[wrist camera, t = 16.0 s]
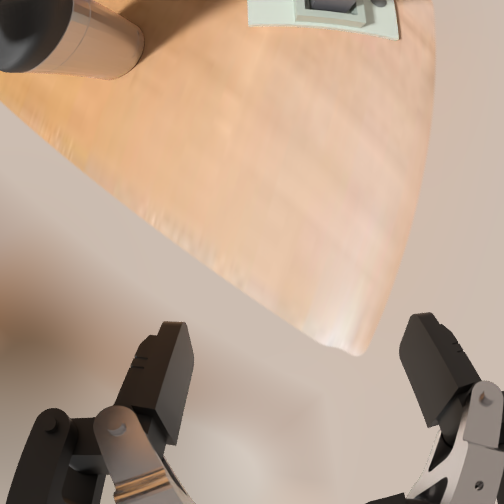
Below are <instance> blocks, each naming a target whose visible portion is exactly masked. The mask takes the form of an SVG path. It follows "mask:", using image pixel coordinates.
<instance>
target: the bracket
mask: <svg viewBox="0 0 504 504" xmlns="http://www.w3.org/2000/svg"><path fill="white" fill-rule="evenodd" d="M247 3H248V25H249V27H268V26H276V27H305V28H319V29H329V30H338V31H346V32H353V33H359V34H365V35H370V36H376V37H381V38H385V39H390V40H394V41H397V40H399V34H398V26H397V18H396V12H395V5H394V0H357V1H356V2H355V3H354V4H353V5H352V7H351V8H350V9H349V10H348V11H347V12H346V13H339V12H331V11H322V10H310V5H309V0H247Z"/></svg>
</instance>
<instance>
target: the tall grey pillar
mask: <svg viewBox="0 0 504 504" xmlns="http://www.w3.org/2000/svg"><path fill="white" fill-rule="evenodd" d="M356 1H357V0H309V5H310V10H322V11H331V12H339V13H346V12H347V11H348V10H349V9H350V8H351V7H352V5H353V4H354V3H355V2H356Z"/></svg>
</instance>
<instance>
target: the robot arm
mask: <svg viewBox="0 0 504 504" xmlns="http://www.w3.org/2000/svg"><path fill="white" fill-rule="evenodd" d="M143 48H144V36H143V33H142V31H141V30H140V28H139V27H138V26H136V25H135V24H133V23H132V22H130V21H128V20H127V19H125V18H124V17H122V16H120V15H119V14H117V13H115V12H113V11H112V10H110V9H108V8H106V7H104V6H103V5H101V4H99V3H97V2H95V1H93V0H0V70H1V71H3V72H9V73H48V74H62V75H73V76H82V77H90V78H98V79H105V80H110V79H115V78H119V77H121V76H123V75H125V74H126V73H127V72H129V71H130V70H131V69H132V68H133V67H134V66H135V65H136V63H137V62H138V60H139V59H140V57H141V55H142V52H143ZM399 356H400V360H401V362H402V365H403V367H404V369H405V371H406V374H407V376H408V379H409V381H410V383H411V386H412V388H413V391H414V393H415V395H416V398H417V401H418V403H419V406H420V408H421V411H422V413H423V416H424V419H425V421H426V424H427V427H428V428H429V427H432V426H436V425H439V426H440V430H439V431H438V433H437V436H436V439H435V441H434V445H433V447H432V450H431V453H430V455H429V458H428V461H427V463H426V466H425V468H424V470H423V473H422V475H421V476H420V478H419V480H418V481H417V482H416V483H415V485H414V486H413V487H412V489H411V490H410V492H409V494H408V495H407V497H406V498H405V495H404V493H400V494H397V495H393V496H390V497H387V498H382V499H378V500H374V501H370V502H368V503H366V504H495V500H496V497H497V502H498V504H504V391H501V390H500V388H499V387H498V386H497V385H495V384H494V383H492V382H490V381H482V380H481V379H480V377H479V375H478V374H477V372H476V370H475V369H474V367H473V365H472V363H471V362H470V360H469V359H468V357H467V355H466V354H465V352H463V349H462V348H461V346H460V344H458V341H457V339H456V338H455V336H454V335H453V333H452V332H451V331H450V330H448V329H447V328H446V327H445V326H444V325H442V324H439V322H438V321H437V319H436V318H435V316H434V315H433V314H432V313H430V312H428V313H420V314H413V315H412V316H411V317H410V319H409V322H408V325H407V327H406V330H405V333H404V336H403V338H402V341H401V343H400V349H399ZM193 366H194V354H193V350H192V346H191V341H190V337H189V333H188V328H187V325H186V323H185V322H168V321H164V322H163V323H162V325H161V327H160V330H159V332H158V335H157V336H156V335H149V336H148V337H147V338H146V339H145V340H144V341H143V342H142V343H141V344H140V345H139V347H138V350H137V352H136V354H135V358H134V359H133V361H132V363H131V368H129V370H128V372H127V375H126V377H125V380H124V382H123V384H122V387H121V389H120V392H119V394H118V397H117V399H116V401H115V404H114V405H113V406H110V407H108V408H105V409H104V410H102V411H101V412H100V413H99V414H98V415H97V416H96V417H93V418H75V419H70V418H69V417H68V415H67V414H66V413H65V412H64V411H62V410H60V409H57V408H51V409H47V410H45V411H43V412H42V413H41V414H40V415H39V416H38V417H37V419H36V421H35V423H34V425H33V428H32V430H31V432H30V435H29V437H28V440H27V442H26V445H25V447H24V450H23V452H22V455H21V458H20V461H19V463H18V466H17V469H16V472H15V475H14V478H13V481H12V484H11V487H10V491H9V494H8V497H7V501H6V504H100V499H101V495H102V490H103V486H104V482H105V477H106V475H110V476H111V478H112V481H113V483H114V485H115V488H116V491H115V492H114V500H115V503H116V504H195V502H194V501H193V500H192V499H191V498H190V496H189V495H188V493H187V492H186V490H185V489H184V487H183V486H182V484H181V483H180V481H179V480H178V478H177V476H176V475H175V473H174V471H173V470H172V468H171V467H170V465H169V463H168V462H167V460H166V458H165V456H164V455H163V454H164V450H165V446H166V444H169V445H176V444H177V439H178V434H179V429H180V425H181V421H182V416H183V411H184V407H185V403H186V398H187V394H188V389H189V385H190V381H191V376H192V372H193Z"/></svg>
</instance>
